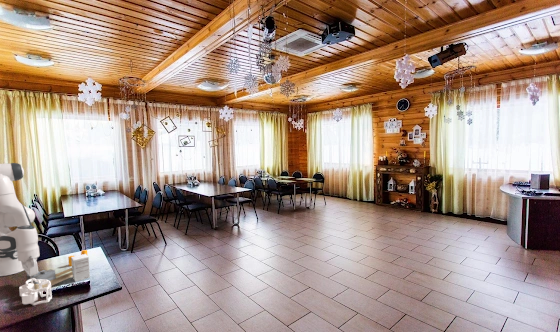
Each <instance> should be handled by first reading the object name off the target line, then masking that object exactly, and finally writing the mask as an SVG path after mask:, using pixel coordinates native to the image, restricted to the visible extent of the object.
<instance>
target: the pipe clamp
mask: <svg viewBox="0 0 560 332" xmlns="http://www.w3.org/2000/svg"><path fill="white" fill-rule="evenodd" d="M82 254H86V255H87V256H88V257H89V255H88V250H87V249H82V250H81V251H80V255H82ZM74 256H75V255H69V256H68V257H67V259H68V267H72V261H71V257H74Z"/></svg>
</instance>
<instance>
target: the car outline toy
mask: <svg viewBox="0 0 560 332" xmlns="http://www.w3.org/2000/svg"><path fill="white" fill-rule="evenodd" d="M30 281H31V283H29V284H28V282H30ZM33 281H35V282H38V284H39V289H36V290H35V288H34V283H33ZM41 282H42V283H41ZM47 283H48V287H46V288H42V285H44V284H47ZM18 289H19V297H21V301H22V302H21V303H22V304H23V305H29V304H30V305H32V306H36V305H41V304H46V303H49V302H50V301H51V300H52V299H53V295H52V294H53V293H52V286H51V282H50V281H49V280H43V279H38V280H37V279H35V278H31V279H29V280H27V279H26V281H25V284H23V285H20V286H19V288H18ZM43 291H46V294H43ZM39 296H40V298H43V297H45V299H44V300H41V301H38V300H39Z"/></svg>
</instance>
